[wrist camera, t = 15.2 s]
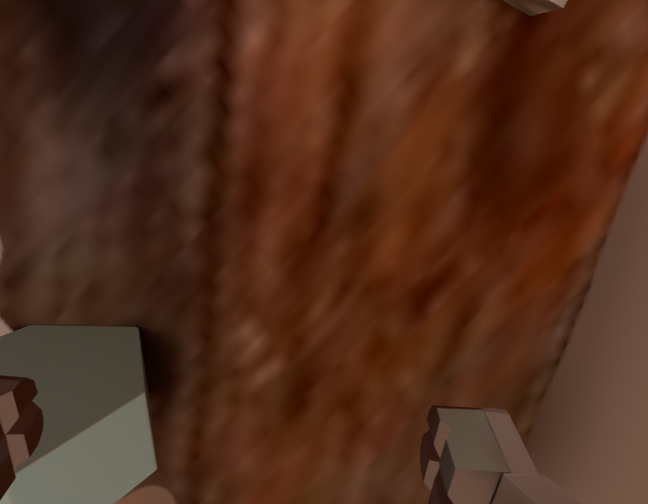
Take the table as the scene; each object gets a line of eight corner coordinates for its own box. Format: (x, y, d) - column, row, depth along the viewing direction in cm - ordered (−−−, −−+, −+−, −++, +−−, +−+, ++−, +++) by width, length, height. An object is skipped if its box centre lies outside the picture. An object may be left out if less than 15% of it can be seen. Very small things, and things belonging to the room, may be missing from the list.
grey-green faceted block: (98, 364, 50) (-163, 503, 34) (85, 301, 47) (-207, 420, 31) (208, 428, 42) (-71, 655, 26) (200, 356, 39) (-120, 560, 23)
